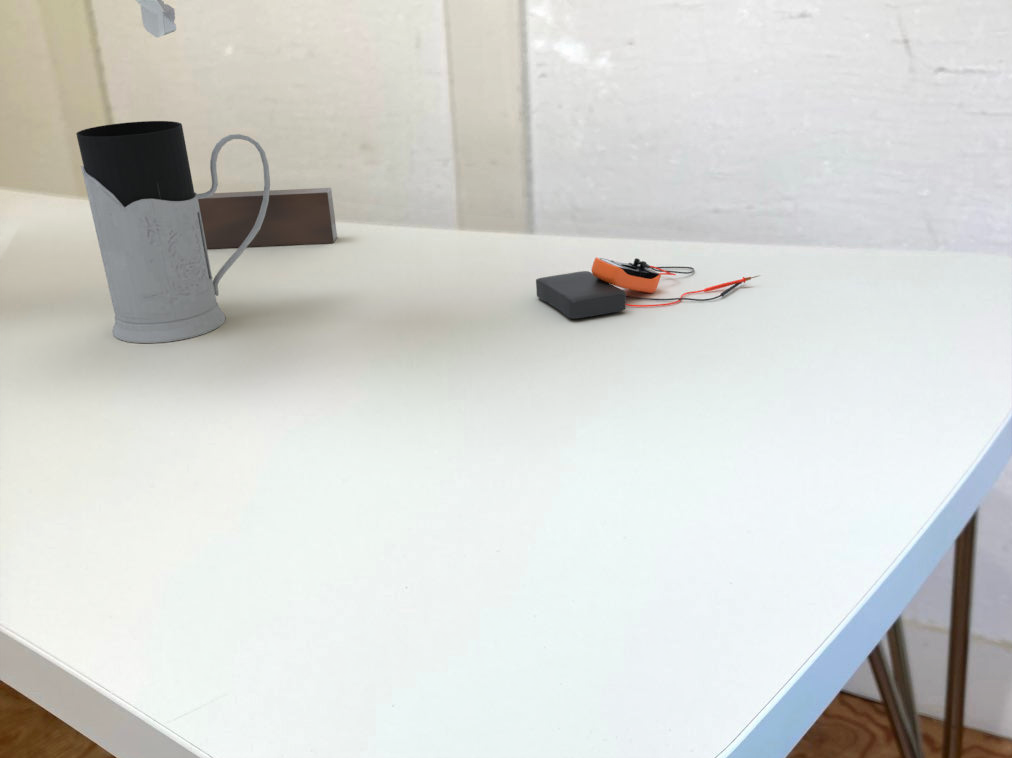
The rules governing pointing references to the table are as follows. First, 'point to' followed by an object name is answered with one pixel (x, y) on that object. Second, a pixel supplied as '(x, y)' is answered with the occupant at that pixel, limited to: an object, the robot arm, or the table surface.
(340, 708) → the table surface
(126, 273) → the glass holder
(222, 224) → the bar
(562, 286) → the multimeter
